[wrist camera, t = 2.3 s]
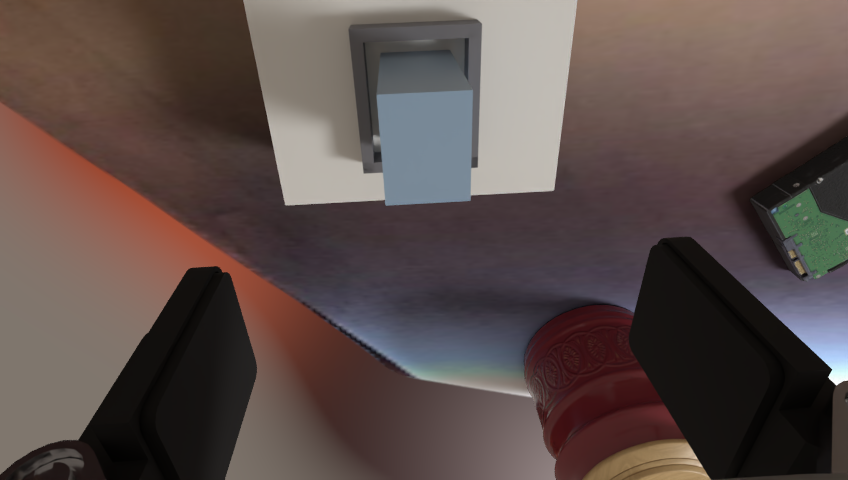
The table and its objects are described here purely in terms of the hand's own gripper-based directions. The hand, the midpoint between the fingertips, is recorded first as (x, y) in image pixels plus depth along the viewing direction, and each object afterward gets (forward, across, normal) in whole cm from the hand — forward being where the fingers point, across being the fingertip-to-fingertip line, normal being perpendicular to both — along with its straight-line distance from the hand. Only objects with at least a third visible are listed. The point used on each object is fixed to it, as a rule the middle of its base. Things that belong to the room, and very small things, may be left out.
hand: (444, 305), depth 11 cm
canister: (+25, -16, +28) cm, 41 cm away
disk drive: (+26, -36, +11) cm, 46 cm away
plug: (+17, 0, 0) cm, 17 cm away
